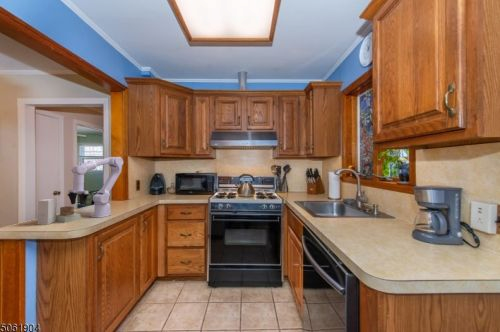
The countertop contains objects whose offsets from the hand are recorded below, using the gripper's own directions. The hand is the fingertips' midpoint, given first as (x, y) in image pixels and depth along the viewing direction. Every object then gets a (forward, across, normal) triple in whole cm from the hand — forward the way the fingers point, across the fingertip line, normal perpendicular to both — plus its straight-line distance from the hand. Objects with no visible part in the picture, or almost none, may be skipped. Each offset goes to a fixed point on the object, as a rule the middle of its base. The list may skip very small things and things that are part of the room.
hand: (77, 204), depth 157 cm
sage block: (+11, -7, -1) cm, 13 cm away
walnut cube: (+7, -7, -2) cm, 10 cm away
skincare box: (+11, -10, -11) cm, 19 cm away
